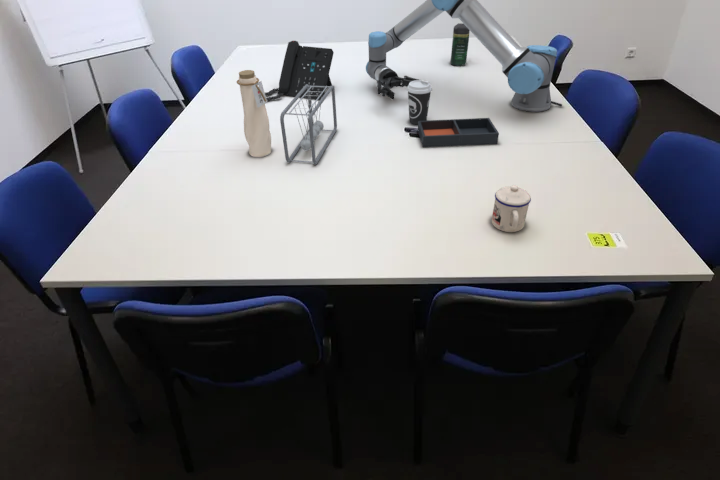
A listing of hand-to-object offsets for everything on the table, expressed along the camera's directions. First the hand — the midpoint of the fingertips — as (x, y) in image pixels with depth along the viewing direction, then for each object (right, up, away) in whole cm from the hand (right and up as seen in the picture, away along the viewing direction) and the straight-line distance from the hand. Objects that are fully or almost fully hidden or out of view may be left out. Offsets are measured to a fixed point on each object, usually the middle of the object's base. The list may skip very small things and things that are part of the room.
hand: (409, 93), depth 184 cm
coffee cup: (+3, -11, -1) cm, 12 cm away
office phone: (-49, +8, +27) cm, 57 cm away
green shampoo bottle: (+31, +32, +55) cm, 71 cm away
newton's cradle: (-36, -24, -15) cm, 46 cm away
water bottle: (-54, -26, -17) cm, 62 cm away
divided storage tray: (+16, -20, -13) cm, 28 cm away
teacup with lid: (+21, -54, -57) cm, 81 cm away
